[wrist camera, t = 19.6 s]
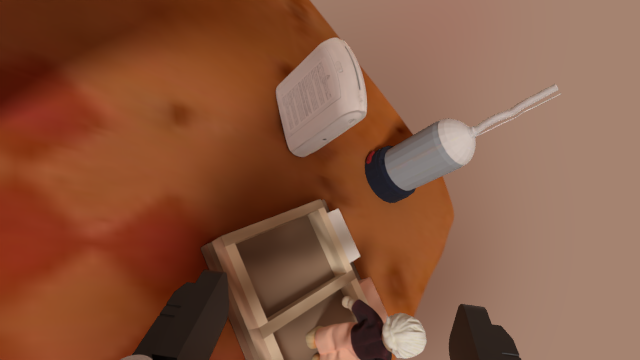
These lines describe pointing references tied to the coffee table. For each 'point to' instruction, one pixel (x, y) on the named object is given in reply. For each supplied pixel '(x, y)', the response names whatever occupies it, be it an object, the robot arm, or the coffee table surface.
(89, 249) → the coffee table surface
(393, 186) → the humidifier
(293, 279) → the wooden divided tray
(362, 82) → the photo printer
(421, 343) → the grandmother figurine
